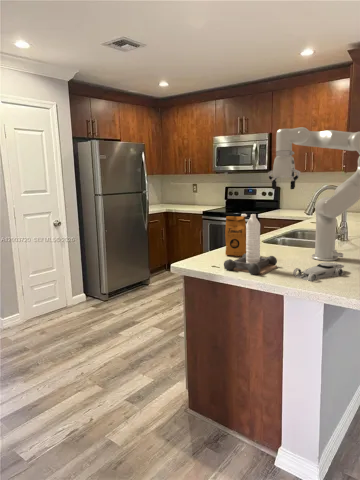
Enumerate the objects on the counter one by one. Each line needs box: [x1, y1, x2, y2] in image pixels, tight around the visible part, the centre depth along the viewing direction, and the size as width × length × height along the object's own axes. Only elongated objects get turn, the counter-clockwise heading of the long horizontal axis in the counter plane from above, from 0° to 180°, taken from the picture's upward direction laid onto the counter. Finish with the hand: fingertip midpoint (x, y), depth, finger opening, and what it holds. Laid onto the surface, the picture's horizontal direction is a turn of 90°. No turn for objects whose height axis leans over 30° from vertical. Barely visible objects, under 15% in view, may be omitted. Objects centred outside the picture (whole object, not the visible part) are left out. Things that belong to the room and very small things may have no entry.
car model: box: [292, 262, 346, 282], centre depth 154 cm, size 11×24×5 cm, turn 116°
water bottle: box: [240, 213, 261, 264], centre depth 167 cm, size 9×6×25 cm
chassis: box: [223, 253, 278, 276], centre depth 168 cm, size 20×19×5 cm
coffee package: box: [224, 215, 247, 257], centre depth 195 cm, size 10×12×22 cm
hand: (283, 189), depth 179 cm, fingers open, 9 cm apart
